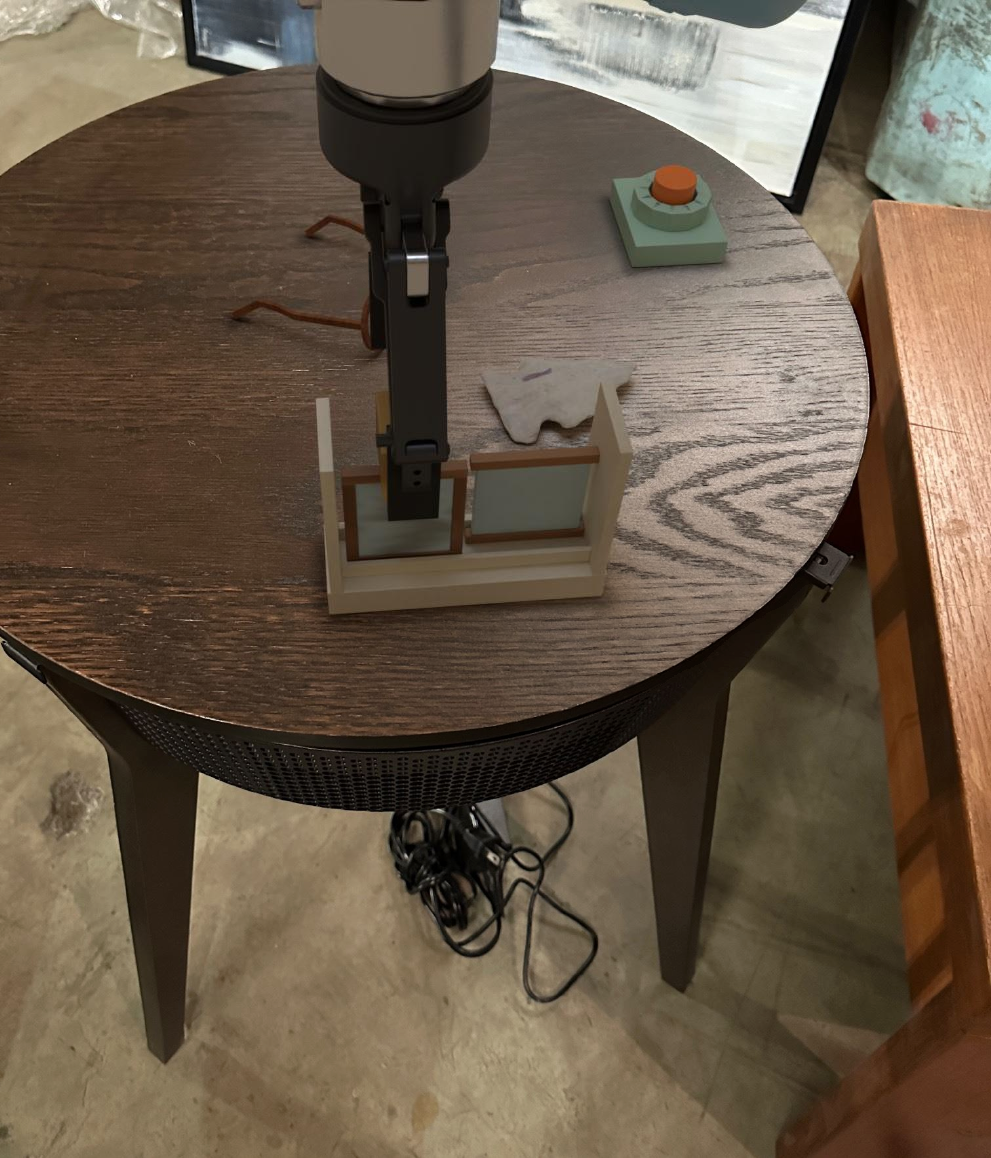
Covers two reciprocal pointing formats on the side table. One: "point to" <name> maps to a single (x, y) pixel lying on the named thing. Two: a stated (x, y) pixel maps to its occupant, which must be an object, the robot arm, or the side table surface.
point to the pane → (399, 538)
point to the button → (674, 185)
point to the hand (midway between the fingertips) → (402, 424)
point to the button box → (666, 225)
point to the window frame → (499, 527)
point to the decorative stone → (550, 392)
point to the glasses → (314, 318)
